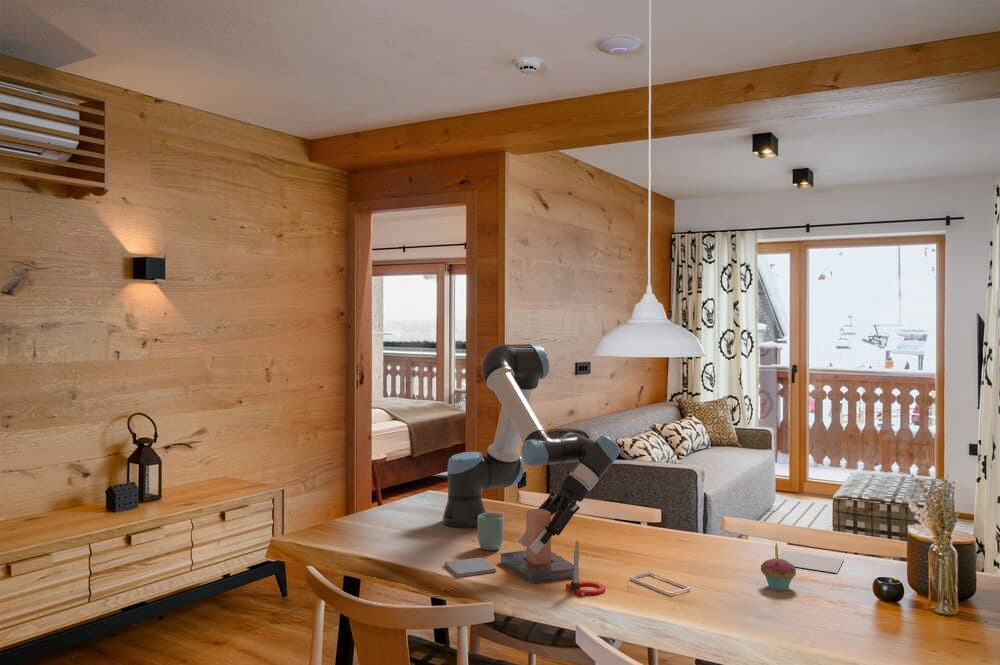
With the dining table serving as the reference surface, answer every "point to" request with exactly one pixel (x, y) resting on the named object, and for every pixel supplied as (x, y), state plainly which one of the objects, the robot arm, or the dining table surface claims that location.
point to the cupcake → (778, 572)
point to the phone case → (657, 587)
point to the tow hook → (576, 584)
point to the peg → (534, 527)
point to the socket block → (538, 567)
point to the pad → (469, 567)
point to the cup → (490, 530)
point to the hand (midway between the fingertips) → (527, 547)
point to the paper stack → (812, 561)
